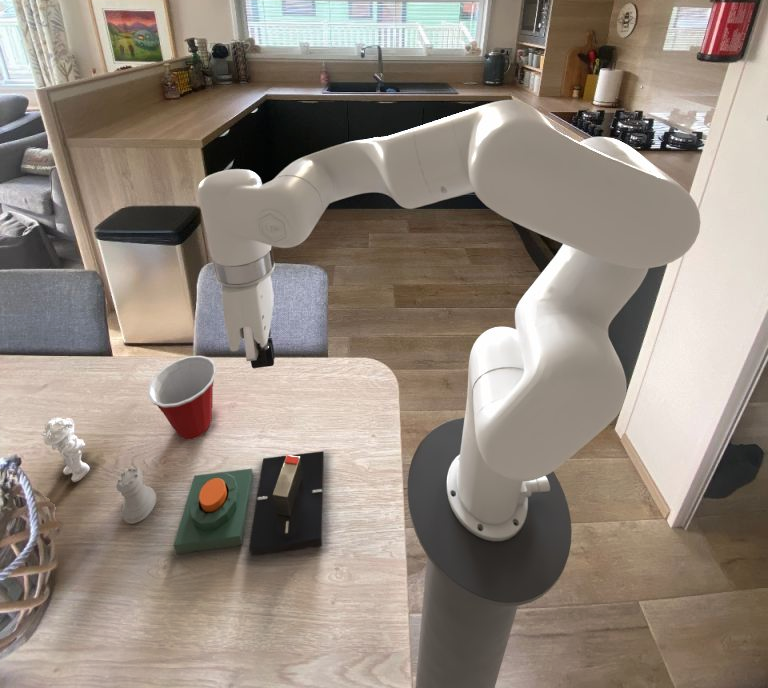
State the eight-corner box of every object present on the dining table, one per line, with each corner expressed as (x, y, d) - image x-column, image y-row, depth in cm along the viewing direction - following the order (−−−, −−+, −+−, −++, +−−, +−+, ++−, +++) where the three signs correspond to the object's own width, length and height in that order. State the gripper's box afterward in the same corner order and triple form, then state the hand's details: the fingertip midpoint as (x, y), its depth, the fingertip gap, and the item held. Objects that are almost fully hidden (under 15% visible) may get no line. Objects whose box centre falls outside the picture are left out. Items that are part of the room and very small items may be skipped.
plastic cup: (228, 391, 78) (219, 346, 74) (223, 444, 69) (212, 396, 64) (169, 404, 76) (155, 359, 71) (155, 461, 66) (138, 413, 62)
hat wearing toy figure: (104, 473, 64) (83, 424, 60) (77, 496, 61) (53, 447, 57) (76, 445, 69) (54, 398, 64) (50, 466, 65) (25, 418, 61)
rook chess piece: (118, 528, 58) (103, 495, 55) (131, 494, 62) (118, 462, 59) (150, 522, 58) (137, 490, 55) (161, 489, 62) (150, 457, 59)
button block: (253, 476, 64) (250, 461, 63) (242, 544, 56) (238, 529, 54) (196, 483, 63) (192, 468, 62) (176, 554, 55) (170, 538, 53)
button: (229, 483, 60) (227, 476, 59) (223, 510, 57) (221, 503, 56) (205, 486, 60) (203, 479, 59) (197, 514, 56) (195, 507, 56)
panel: (324, 458, 67) (323, 450, 66) (322, 546, 56) (321, 537, 55) (264, 465, 66) (263, 457, 65) (250, 556, 55) (248, 548, 54)
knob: (290, 517, 57) (287, 495, 55) (276, 514, 58) (272, 493, 56) (302, 476, 62) (300, 455, 60) (289, 474, 63) (286, 453, 61)
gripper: (228, 234, 58) (247, 329, 65) (198, 302, 44) (226, 412, 51) (279, 230, 59) (292, 324, 66) (265, 295, 45) (284, 404, 52)
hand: (263, 362), depth 59 cm, fingers closed
